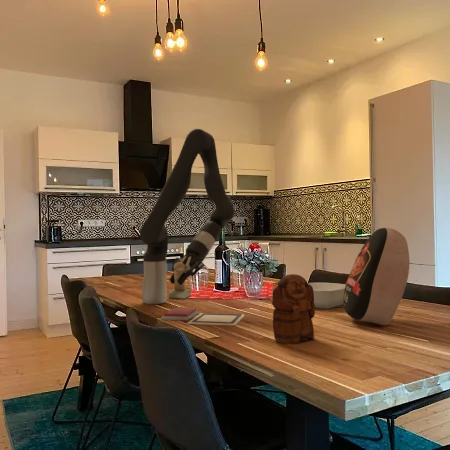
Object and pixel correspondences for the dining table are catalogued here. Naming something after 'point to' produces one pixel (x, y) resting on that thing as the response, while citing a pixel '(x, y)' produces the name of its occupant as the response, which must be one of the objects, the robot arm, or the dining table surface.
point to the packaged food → (378, 278)
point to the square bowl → (328, 294)
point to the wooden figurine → (293, 310)
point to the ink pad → (180, 314)
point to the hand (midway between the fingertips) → (175, 282)
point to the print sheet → (217, 319)
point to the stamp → (179, 289)
